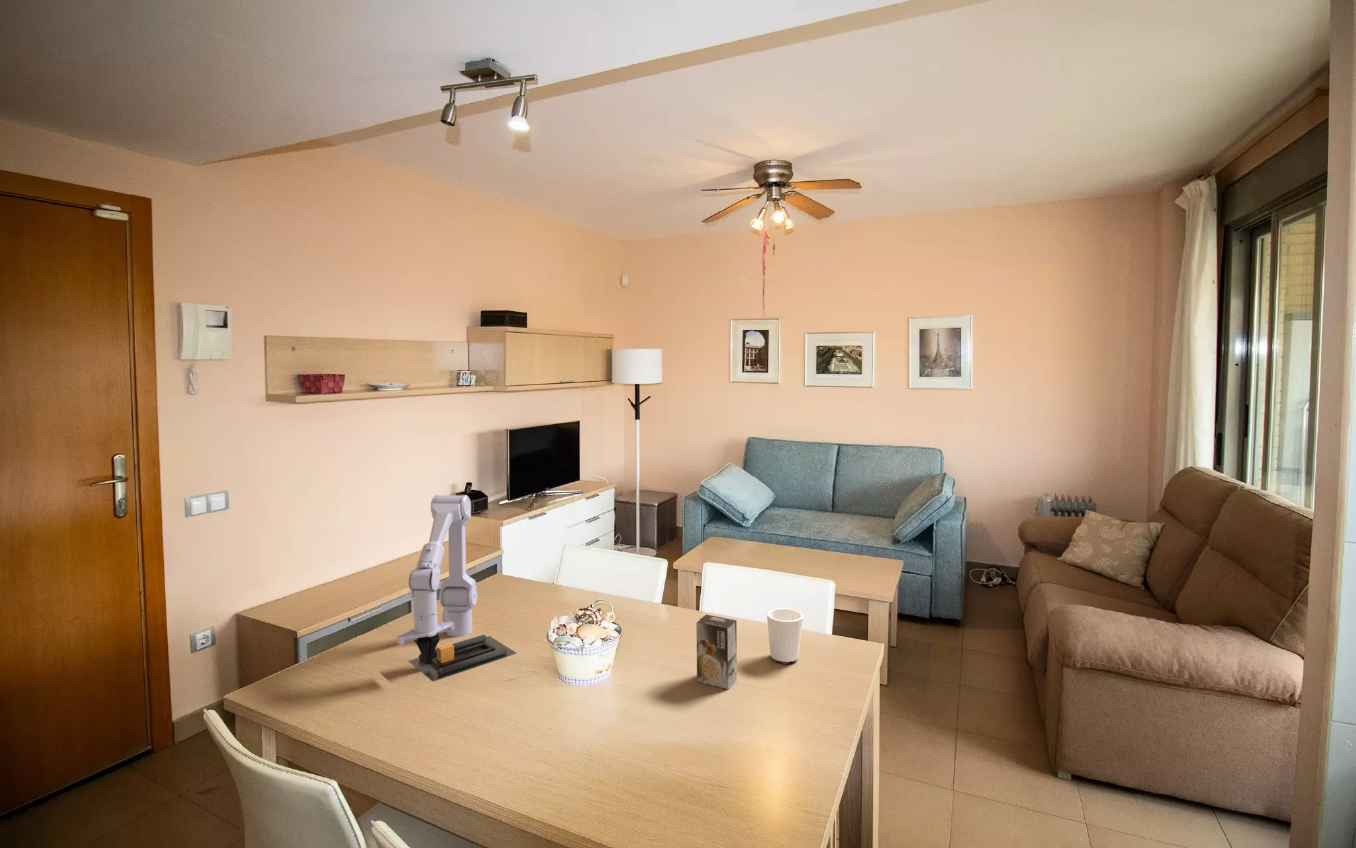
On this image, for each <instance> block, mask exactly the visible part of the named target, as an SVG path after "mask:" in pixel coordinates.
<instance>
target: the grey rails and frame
mask: <svg viewBox="0 0 1356 848" xmlns="http://www.w3.org/2000/svg"><path fill="white" fill-rule="evenodd" d="M487 637H488V636H487V635H485V634H481V635H478V636H475V637H471V638H467V639H465V640H460V641H459V642H458V641H457V642H455V643H451V644H452V645H453V646H454V650H457V649H460V648H463V647H467V646H470V645H473V644H476V643H480V642H483V641H485V640H486V638H487ZM506 653H507V649H506V648H501V649H498V650H495V651H492V652H488V653H485V654H482V655H479V656H476V657H473V658H470V659H467V660H464V661H460V662H457V663H454V664H451V665H448V666H445V667H442V668H439V669H438V671H437V673H438V675H443V674H446V673H449V672H452V671H455V670H459V669H462V668H465V667H468V666H471V665H474V664H477V663H480V662H483V661H486V660H489V659H492V658H495V657H498V656H501V655H504V654H506ZM434 656H437V648H435V651H434V654H433V657H434ZM418 658H419V659H420V660H423V658H422V655H421V653H419V654H418Z"/></svg>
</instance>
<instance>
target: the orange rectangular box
mask: <svg viewBox="0 0 1356 848" xmlns="http://www.w3.org/2000/svg"><path fill="white" fill-rule="evenodd" d="M452 644H453V643H451V642H447V643H444V644H440V645H437V646H436V649H437V661H438V662H440V663H444V662H447V661H450V660H453V659H454V646H453V645H452Z"/></svg>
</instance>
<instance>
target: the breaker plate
mask: <svg viewBox="0 0 1356 848" xmlns="http://www.w3.org/2000/svg"><path fill="white" fill-rule="evenodd" d="M486 637H487V638H486V640H485V641H483V642H480V643H476V644H473V645H470V646H467V647H463V648H460V649H457V650H454V659H453V660H450V661H447V662H444V663H440V662H438V661H437V656H434V657H433V658H432V663H431V664H428V665H426V664H425V663H424V662H423V660H420V659H419V657H416V658H413V659H410V660H409V659H408V663H410V664H412V665H413V667H414V668H416V669H417V670H418V671H419V672H421V673H422V674H423V675H424V676H426V677H427V678H428V679H429V680H431V681H432V682H435V681H439V680H442V679H445V678H447V677H451V676H455V675H457V674H460V673H463V672H466V671H469V670H472V669H475V668H478V667H481V666H484V665H487V664H490V663H492V662H493V663H494V662H495V661H499V660H502V659H504V658H508V657H511V656H514V655H516V654H518V652H516V651H514V650H513V649H512V648H510V647H509V646H507V645H505V644H503V643H502V642H500V641H498V640H497V639H495V638H493V637H492V636H491V635H489V636H486ZM501 648H506V649H507V653H506V654H504V655H501V656H498V657H495V658H492V659H489V660H486V661H483V662H480V663H477V664H474V665H471V666H468V667H465V668H462V669H459V670H455V671H452V672H449V673H446V674H443V675H438V673H437V671H438V669H439V668H442V667H445V666H448V665H451V664H454V663H457V662H460V661H464V660H467V659H470V658H473V657H476V656H479V655H482V654H485V653H488V652H492V651H495V650H498V649H501Z"/></svg>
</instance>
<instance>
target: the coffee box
mask: <svg viewBox="0 0 1356 848" xmlns="http://www.w3.org/2000/svg"><path fill="white" fill-rule="evenodd" d="M695 626H696V682H697V683H700V684H705V685H708V684H709V686H713V687H716V686H717V687H716V688H722V689H725V690H729V689H730V688H731V687H732V686H733V685H734V684H735V683H736V682H737V680H738V679H737V678H738V672H737V671H738V670H737V669H738V668H737V666H738V665H737V661H738V660H737V659H738V658H737V648H738V647H737V642H738V641H737V637H738V636H737V631H738V630H737V626H738V625H737V620H736V619H732V618H725V617H721V616H715V615H711V614H705V615H703V616H702V617H700V618H699V620H698V621H697V622H696V625H695Z"/></svg>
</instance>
